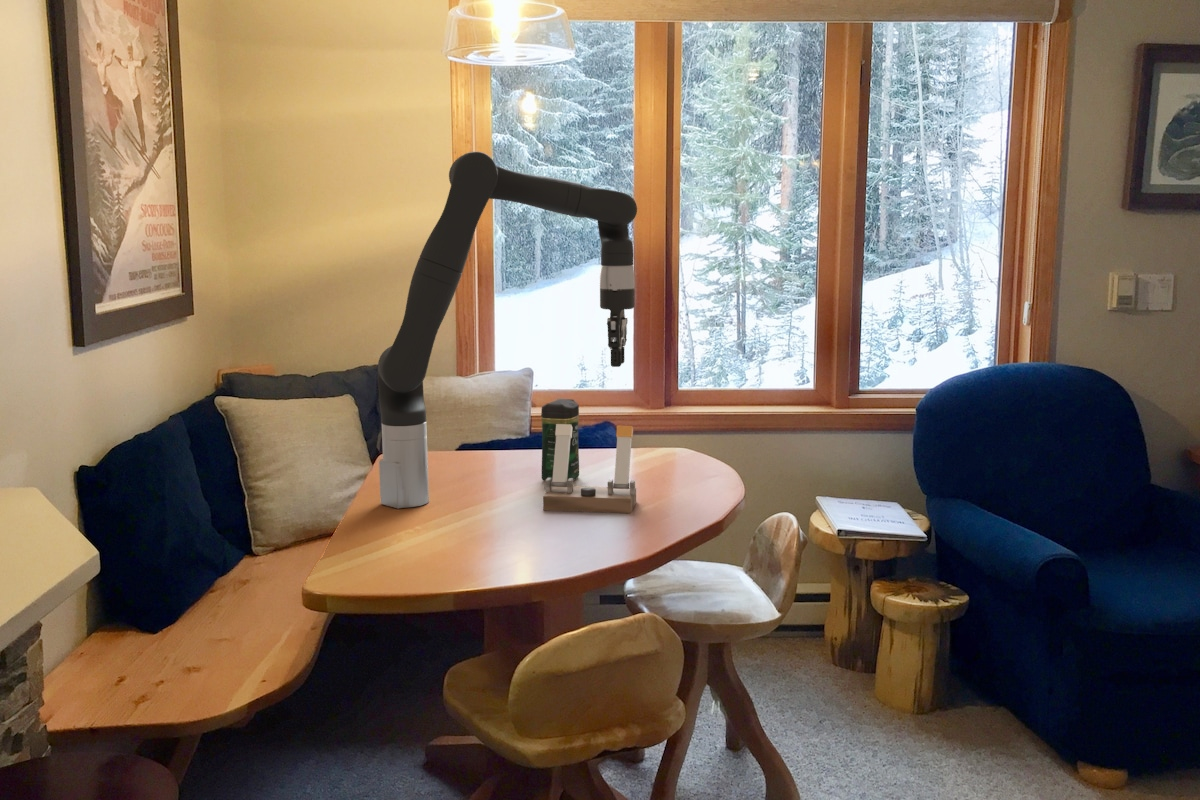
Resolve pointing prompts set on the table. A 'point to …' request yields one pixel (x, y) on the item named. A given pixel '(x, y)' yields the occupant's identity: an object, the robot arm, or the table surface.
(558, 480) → the lever ivory
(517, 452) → the table surface
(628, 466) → the lever orange
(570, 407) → the coffee jar
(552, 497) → the console
